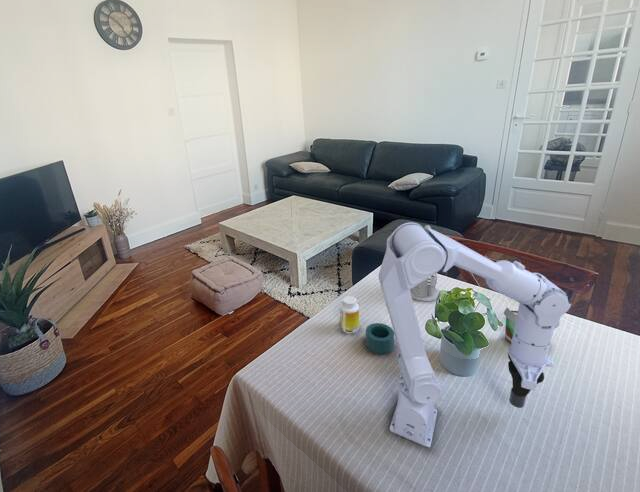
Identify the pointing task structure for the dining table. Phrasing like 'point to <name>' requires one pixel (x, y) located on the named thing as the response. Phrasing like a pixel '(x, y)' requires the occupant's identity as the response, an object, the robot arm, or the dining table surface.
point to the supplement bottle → (349, 315)
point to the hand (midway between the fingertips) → (519, 390)
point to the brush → (517, 399)
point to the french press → (425, 287)
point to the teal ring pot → (379, 338)
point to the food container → (512, 324)
